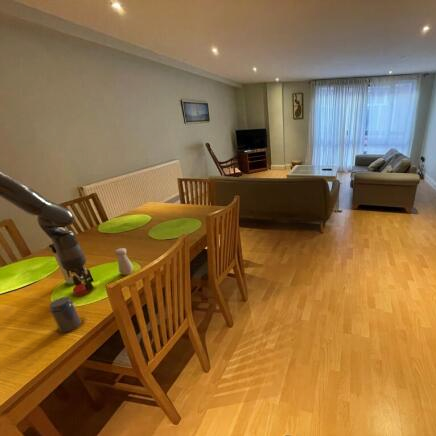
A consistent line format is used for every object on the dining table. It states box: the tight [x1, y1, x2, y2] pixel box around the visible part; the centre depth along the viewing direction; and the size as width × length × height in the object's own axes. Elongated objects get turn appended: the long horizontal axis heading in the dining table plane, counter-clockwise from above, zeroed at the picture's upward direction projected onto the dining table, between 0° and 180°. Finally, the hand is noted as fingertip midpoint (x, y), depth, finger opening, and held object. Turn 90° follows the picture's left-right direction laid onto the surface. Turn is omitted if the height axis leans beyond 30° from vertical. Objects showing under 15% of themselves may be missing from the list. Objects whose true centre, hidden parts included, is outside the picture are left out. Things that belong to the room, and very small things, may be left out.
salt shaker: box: [114, 247, 134, 276], centre depth 114 cm, size 6×6×13 cm
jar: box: [49, 296, 82, 334], centre depth 85 cm, size 6×6×11 cm
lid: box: [72, 282, 94, 297], centre depth 104 cm, size 6×6×2 cm
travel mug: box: [48, 243, 83, 286], centre depth 107 cm, size 6×7×20 cm
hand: (84, 287), depth 104 cm, fingers open, 8 cm apart
